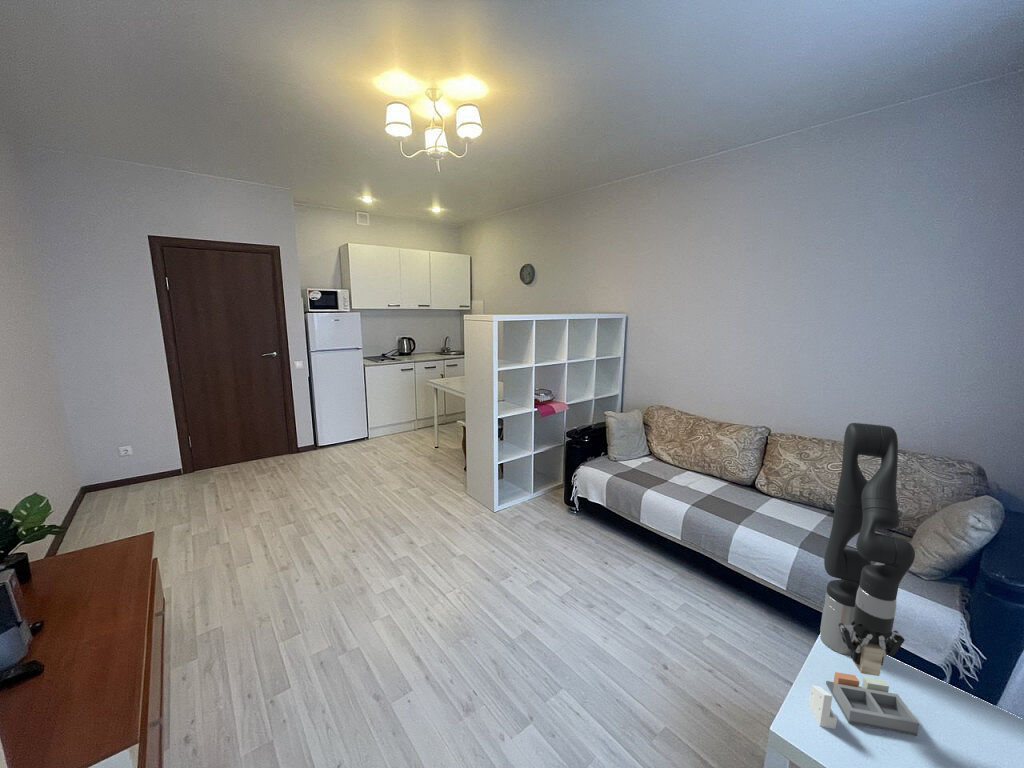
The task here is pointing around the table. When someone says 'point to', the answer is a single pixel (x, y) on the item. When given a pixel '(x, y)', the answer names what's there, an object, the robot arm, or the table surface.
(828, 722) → the white angled block
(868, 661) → the tan rectangular block
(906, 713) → the socket block
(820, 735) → the table surface
